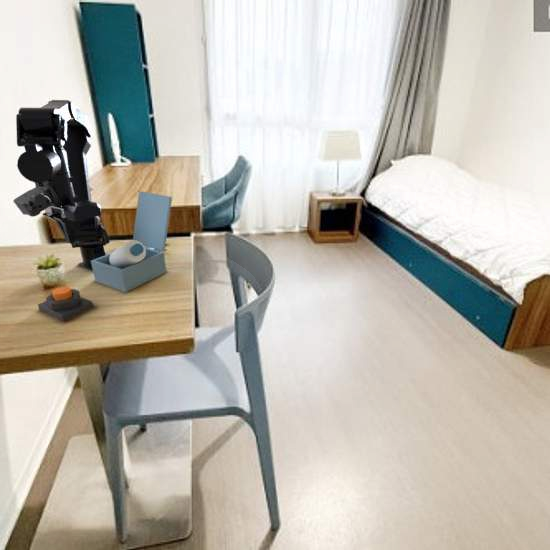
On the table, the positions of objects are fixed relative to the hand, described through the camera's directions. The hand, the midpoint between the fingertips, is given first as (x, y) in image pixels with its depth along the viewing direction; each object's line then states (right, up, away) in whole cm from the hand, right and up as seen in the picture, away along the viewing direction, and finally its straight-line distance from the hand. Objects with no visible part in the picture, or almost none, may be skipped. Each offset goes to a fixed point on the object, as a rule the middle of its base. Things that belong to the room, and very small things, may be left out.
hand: (71, 242), depth 84 cm
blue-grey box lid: (+13, +7, +15) cm, 21 cm away
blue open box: (+8, -8, +14) cm, 18 cm away
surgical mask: (+4, -1, +29) cm, 29 cm away
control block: (0, -15, -1) cm, 15 cm away
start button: (0, -12, -3) cm, 13 cm away
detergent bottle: (+5, -4, +14) cm, 15 cm away
